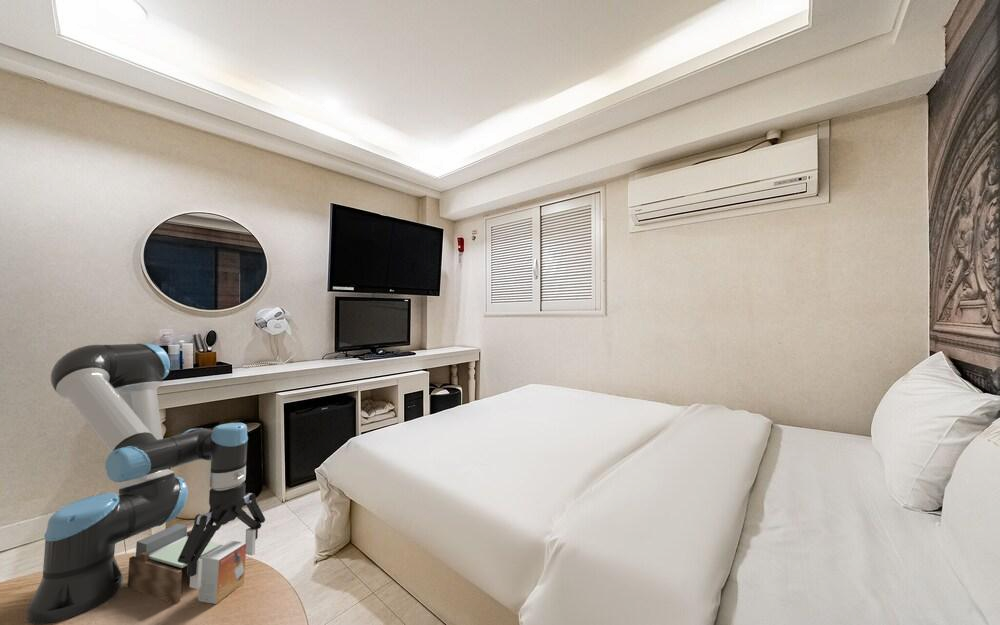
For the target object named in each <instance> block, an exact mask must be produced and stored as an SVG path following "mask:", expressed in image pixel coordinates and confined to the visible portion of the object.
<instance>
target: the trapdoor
mask: <svg viewBox="0 0 1000 625" xmlns="http://www.w3.org/2000/svg"><path fill="white" fill-rule="evenodd" d="M187 532H188V525H184V524H180V523H176V524H174V525H171V526H168V528H165V529H162V530H161V531H158V532H155V533H153V534H151V535H149V536H146V537H144V538H142V539H140V540H137V541H136V548H135V557H138V558H140V553H142V552H146V553H149V559H148V561H152V562H155V563H156V562H158V561H160V562H163V563H166V564H170V565H173V566H174V567H177V568H180V569H183V568H185V567H187V564H184V563H180V562H178V558H179V556H180V554H181V552H182V550H183V547H184V545H185V543H186V541H187V539H188V537H189V536H187ZM221 545H222V544H221V543H216V542H212V541H210V542H209V543H208V545H207V546H206V548H205V550H204V551H203V553H202V554H201V556H200V557H199V558H201V557H203V556H205V555H207V554H209V553H210V552H212V551H214V550H215V549H217V548H219V547H220V546H221ZM173 566H172V567H173Z"/></svg>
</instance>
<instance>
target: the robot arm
mask: <svg viewBox="0 0 1000 625" xmlns="http://www.w3.org/2000/svg"><path fill="white" fill-rule="evenodd" d="M170 369H171V360H170V357H169V355H168V353H167V352H166V351H165V349H164V348H163V347H161V346H160V345H156V344H150V343H140V342H139V343H128V344H127V343H126V344H123V343H121V344H90V345H84V346H80V347H77V348H74V349H73V350H70V351H69V352H66V353H65V354H64V355H63V356H61V357H60V358H59V360H57V362H56V363H55V364H54V366H53V368H52V370H51V373H50V383H51V385H52V388H53V390H54V391H55V392H56V393H57V395H58V396H60V397H62V398H64V399H68V400H70V402H71V403H72V404H73V406H74V407H75V408H76V409H77V411H78V412H79V414H81V416H82V417H83V419H84V420H85V421H86V422H87V423H88V425H89V426H90V427H91V429H92V430H93V431H94V432H95V433H94V434H96V435H97V437H98V438H99V439H100V440H101V442H102V443H103V445H104V446H105V447H106V448H107V450H108V451H109V452H110V453H109V454H108V456H107V457H106V461H105V464H104V466H105V471H106V476H107V477H108V479H109V480H111V482H114V483H122V484H121V485H120V486H119V487H118V488H117V489H118V494H117V493H115V492H103V493H99V494H96V495H91V496H86V497H84V498H81V499H79V500H76V501H74V502H71V503H69V504H66V505H65V506H62V507H61V508H59V509H58V510H57V511H55V512H54V513H53V514H52V515H51V517H49V520H48V521H47V526H46V531H45V533H44V554H43V556H44V557H43V565H42V566H43V567H42V569H43V570H42V577H41V578H42V579H41V581H40V583H39V585H38V587H37V589H36V591H35V593H34V595H33V597H32V598H31V601H30V603H29V605H28V608H27V617H26V618H27V621H28V623H31V624H37V623H38V624H37V625H39V624H41V623H42V624H50V623H54V622H59V621H62V620H66V619H69V618H72V617H75V616H78V615H80V614H83V613H85V612H87V611H90V610H92V609H93V608H96V607H99V605H101V604H103V603H105V602H106V601H107V600H109V599H111V598H112V597H113V596H114V595H116V594H117V593H118V592H119V590H120V589H121V587H122V585H123V574H122V570H121V569H120V567H119V565H118V563H117V559H116V558H115V551H116V550H115V548H116V545H117V544H118V543H119V542H122V541H124V540H127V539H129V538H131V537H134V536H137V535H139V534H141V533H144V532H146V531H149V530H151V529H154V528H157V527H160V526H162V525H163V524H165V523H168V522H169V521H171V520H174V519H175V518H177V517H178V516H179V515H180V514H181V513H182V511H183V509H184V508H185V506H186V504H187V500H188V493H189V491H188V485H187V483H186V482H185V480H184V478H183V477H179V476H175V471H174V470H172V469H173V468H175V467H178V466H183V465H186V464H190V463H193V462H195V461H200V460H203V461H210V473H209V474H210V475H209V488H210V489H209V491H208V492H209V496H208V498H209V499H208V503H209V511H208V512H207V513H203V514H199V513H197V515H195V517H194V523H193V527H192V529H191V533H190V535H189V537H188V539H187V541H186V543H185V545H184V547H183V550H182V552H181V554H180V556H179V558H178V562H180V563H184V564H187V566H186V574H187V576H188V577H189V588H191V589H194V590H195V589H196V590H199V588H201V576H202V559H200V558H199V557H200V556H201V554H202V553H203V551H204V550H205V548H206V546H207V545H208V543H209V542H211V540H212V539H213V537H214V536H215V534H216V532H218V531H219V530H220V529H221V527H222V526H224V525H227V524H228V523H229V522H231V521H234V520H236V518H237V519H238V520H239V521H241V522H242V523H243V524H245V525H246V527H247V528H246V529H245V540H244V543H246V556H254V555H255V554H256V540H257V539H258V537H259V536H258V535H259V534H258V532H259V529H261V528H262V524H263V523H265V521H266V518H265V516H264V514H263V512H262V510H261V508H260V506H259V504H258V503H257V500H256V494H255V493H252V492H251V493H250V492H247V493H246V482H245V481H246V476H247V457H248V456H247V454H248V440H249V436H248V426H247V424H245V422H244V423H243V422H229V423H223V424H219V425H216V426H214V427H213V428H212V429H207V428H203V427H200V428H199V427H198V428H190V429H188V430H185V431H184V432H183V433H181V434H179V435H173V436H169V437H166V438H164V437H163V431H162V422H161V415H160V407H159V401H158V400H159V399H158V393H157V390H158V388H159V387H160V386H161V385H162V384H163V380H164V379H165V378H166V377H167V376H168V375H169V373H170ZM244 505H245V506H246V507H247V509H248V511H249V512H250V514H251V516H252V517H251V516H250V515H249V514H248V513H247V512H246V511H245V510H244V509H243V507H244Z"/></svg>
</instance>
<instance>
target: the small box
mask: <svg viewBox="0 0 1000 625" xmlns="http://www.w3.org/2000/svg"><path fill="white" fill-rule="evenodd" d="M221 545H222V546H220V547H219V548H217V549H215V550H214V551H212V552H210V553H209V554H207V555H205V556H203V557H201V559H202V576H201V588H199V589H198V595H197V596H198V598H197V601H198V602H202V603H203V602H204V603H206V604H207V603H208V604H214V605H215V604H216V605H217V604H218V603H219V602H220V601H222V600H224V599H225V598H226V597H227V596H229V595H230V594H232V593H233V592H235V590H237V589H238V588H239V587H241V586H243V585H244V584H245V574H246V557H247V554H246V543H245V541H244V542H243V541H237V540H236V541H235V540H228V541H227V542H225V543H224V544H221Z"/></svg>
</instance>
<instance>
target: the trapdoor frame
mask: <svg viewBox="0 0 1000 625" xmlns="http://www.w3.org/2000/svg"><path fill="white" fill-rule="evenodd" d="M191 530H192V529H191ZM191 530H187V536H189V535H190V533H191ZM222 545H223V544H221V546H222ZM128 559H129V560H128V572H127V587H126V588H128V589H131V590H134V591H138V592H140V593H143V594H146V595H149V596H152V597H154V598H155V597H156V598H158V599H161V600H164V601H166V602H170V603H173V604H179V603H180V602H181V594H182V592H181V590H182V589H181V588H182V577H183V576H182V575H183V570H182V569H178V568H175V567H173V565H170V564H166V563H163V562H160V561H158V562H156V563H155V562H152V561H148V559H149V553H146V552H142V553H140V558H138V557H136V555H135V556H134V555H133V556H130V557H129V558H128ZM200 559H201V558H200Z"/></svg>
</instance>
